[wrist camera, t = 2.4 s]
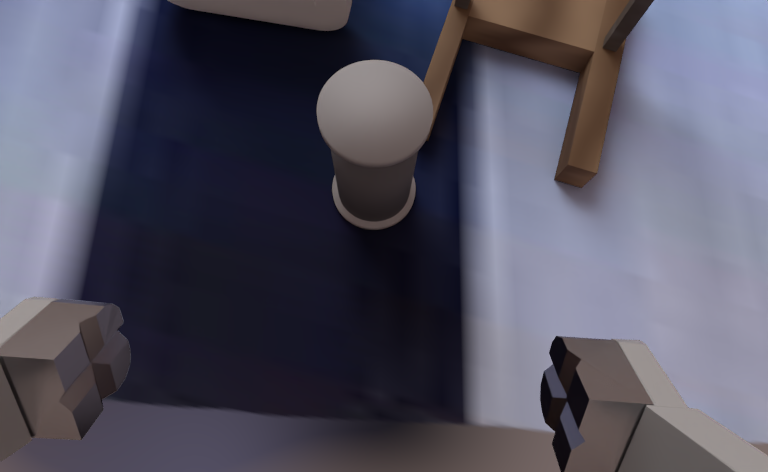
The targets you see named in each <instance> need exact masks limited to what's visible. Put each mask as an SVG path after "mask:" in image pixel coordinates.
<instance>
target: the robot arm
mask: <svg viewBox="0 0 768 472" xmlns="http://www.w3.org/2000/svg"><path fill="white" fill-rule="evenodd" d="M122 324H123V318H122V315H121V312H120V308H119V307H117V306H116V305H114V304H111V303H100V302H90V301H79V300H69V299H55V298H43V297H32V298H28V299H25V300H23V301H22V302H21V303H20V304H18V305H17V306H16V307H15V308H13V309H12V310H11V311H10V312H9V313H7V314H6V315H5V316H4V317H2V318H1V319H0V462H1V461H3V460H4V459H6V458H7V457H8V456H10V455H11V454H13V453H14V452H16V451H17V450H19V449H20V448H22V447H23V446H25V445H26V444H28V443H29V442H30V441H32V438H51V439H71V440H82V438H83V437H84V436H85V435H86V433H87V432H88V430H89V429H90V427H91V426H92V425H93V423H94V422H95V421H96V419H97V418H98V417H99V415H100V414H101V412H102V411H103V403H102V399H104V398H105V397H107V396H109V395H110V394H112V393H114V392H116V391H117V390H118V389H119V387H120V386H121V384H122V383H123V381H124V380H125V378H126V375H127V372H128V369H129V366H130V358H131V351H130V346H129V342H128V340H127V339H126V338H125V337H124V336H123V335H122V334H121V333H120V332H119V331H118V330H119V328H120V327H121V325H122ZM549 354H550V357H551V359H552V362H553V365H551V366H550V367H549V368H548V369H546V370H545V371H544V374H543V378H542V382H541V395H540V401H541V407H542V413H543V416H544V420H545V423H546V424H547V425H548V426H549V427H551V428H552V429H553V430H554V431H555V435H554V438H553V442H552V445H553V449H554V452H555V455H556V458H557V461H558V464H559V467H560V470H561V472H768V456H767V455H766V454H764V453H763V452H761V451H760V450H759V449H757V448H755V447H754V446H752V445H751V444H750V443H748V442H747V441H745V440H744V439H742V438H741V437H739V436H738V435H736V434H735V433H733V432H732V431H730V430H729V429H727V428H726V427H724V426H723V425H721V424H720V423H718V422H717V421H715V420H714V419H712V418H711V417H709V416H708V415H706V414H705V413H703V412H702V411H700V410H699V409H692V408H688V407H687V405H686V404H685V402H684V401H683V399H682V398H681V396H680V395H679V393H678V392H677V390H676V389H675V387H674V386H673V384H672V383H671V381H670V380H669V378H668V377H667V375H666V374H665V372H664V371H663V369H662V368H661V366H660V365H659V363H658V362H657V360H656V359H655V357H654V356H653V354H652V353H651V351H650V350H649V348H648V347H647V345H646V344H645V343H643V342H642V341H640V340H624V339H611V340H607V339H592V338H578V337H563V336H556V337H555V339H554V341H553V342H552V345H551V348H550V352H549Z"/></svg>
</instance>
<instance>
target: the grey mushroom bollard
mask: <svg viewBox="0 0 768 472" xmlns="http://www.w3.org/2000/svg"><path fill="white" fill-rule="evenodd" d="M317 120H318V125H319V129H320V132H321V134H322V137H323V139H324V140H325V142H326V144H327V145H328V146H329V147H330V149H331V153H332V159H333V165H334V170H335V176H334V179H333V185H332V192H333V198H334V202H335V205H336V207H337V209H338V211H339V213H340V214H341V215H342V216H343V217H344V218H345V219H346V220H347V221H348V222H350V223H351V224H353V225H355V226H357V227H360V228H363V229H368V230H380V229H385V228H389V227H391V226H393V225H395V224H397V223H398V222H400V221H401V220H402V219H403V218H404V217H405V216H406V215H407V214H408V213H409V211H410V209H411V207H412V205H413V202H414V198H415V191H416V186H415V180H414V177H413V174H414V169H415V164H416V159H417V154H418V150H419V149H420V148H421V147H422V145H423V144H424V142H425V141H426V139H427V137H428V135H429V132H430V128H431V124H432V120H433V104H432V99H431V96H430V93H429V92H428V90H427V88H426V86H425V85H424V83H423V82H422V81H421V80H420V79H419V78H418V76H416V75H415V74H414V73H413V72H411V71H410V70H408V69H407V68H405V67H403V66H401V65H398V64H396V63H393V62H389V61H383V60H366V61H360V62H356V63H353V64H350V65H348V66H346V67H344V68H342V69H341V70H339V71H337V72H336V73H335V74H334V75H333V76H332V77H331V78H330V79H329V80H328V81H327V82H326V84H325V85H324V86H323V88H322V90H321V92H320V95H319V98H318V102H317Z"/></svg>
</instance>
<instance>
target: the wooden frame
mask: <svg viewBox="0 0 768 472" xmlns="http://www.w3.org/2000/svg"><path fill="white" fill-rule="evenodd" d="M653 1H654V0H453V1H452V4H451V6H450V9H449V12H448V15H447V18H446V21H445V23H444V26H443V29H442V32H441V35H440V37H439V40H438V43H437V46H436V49H435V52H434V54H433V57H432V60H431V63H430V66H429V68H428V71H427V74H426V77H425V80H424V85H425V86H426V88H427V90H428V92H429V93H430V96H431V99H432V104H433V120H432V124H431V128H430V132H429V135H428V137H427V139H426V141H428V140H429V137H430V134H431V131H432V128H433V125H434V122H435V119H436V116H437V113H438V110H439V107H440V104H441V101H442V98H443V95H444V92H445V89H446V86H447V83H448V80H449V77H450V75H451V72H452V69H453V66H454V63H455V60H456V57H457V54H458V51H459V48H460V45H461V42H462V39H464V40H468V41H471V42H475V43H478V44H482V45H485V46H489V47H492V48H496V49H499V50H503V51H506V52H509V53H513V54H516V55H520V56H523V57H527V58H530V59H534V60H537V61H541V62H544V63H548V64H551V65H555V66H558V67H561V68H565V69H568V70H572V71H575V72H579V73H580V76H579V80H578V84H577V88H576V92H575V96H574V100H573V104H572V109H571V113H570V117H569V121H568V125H567V129H566V133H565V137H564V142H563V146H562V150H561V154H560V158H559V162H558V166H557V170H556V175H555V179H554V180H557V181H560V182H564V183H567V184H570V185H573V186H577V187H580V188H582V187H583V186H584V185H585V184H586V183H587V182H588V181H589V180H591V179H592V178H593V177H594V176H595V175H596V174H597V171H598V167H599V162H600V157H601V153H602V148H603V143H604V139H605V134H606V129H607V125H608V120H609V115H610V111H611V106H612V101H613V97H614V92H615V87H616V83H617V78H618V73H619V69H620V64H621V59H622V55H623V50H624V45H625V41H626V37H627V36H628V35H629V33H630V32H631V31H632V29H633V28H634V27H635V25H636V24H637V23H638V21H639V20H640V18H641V17H642V16H643V14H644V13H645V12H646V10H647V9H648V8H649V6H650V5H651V3H652V2H653Z"/></svg>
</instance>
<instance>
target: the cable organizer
mask: <svg viewBox="0 0 768 472" xmlns="http://www.w3.org/2000/svg"><path fill="white" fill-rule="evenodd" d="M168 1H170V2H172V3H174V4H176V5H178V6H181V7H184V8H187V9H191V10H197V11H203V12H209V13H215V14H221V15H228V16H234V17H240V18H246V19H252V20H258V21H264V22H270V23H277V24H283V25H289V26H295V27H301V28H307V29H313V30H320V31H333V30H337V29H340V28H342V27H343V26H345V25H346V23H347V21H348V17H349V13H350V9H351V5H352V0H168Z"/></svg>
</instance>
